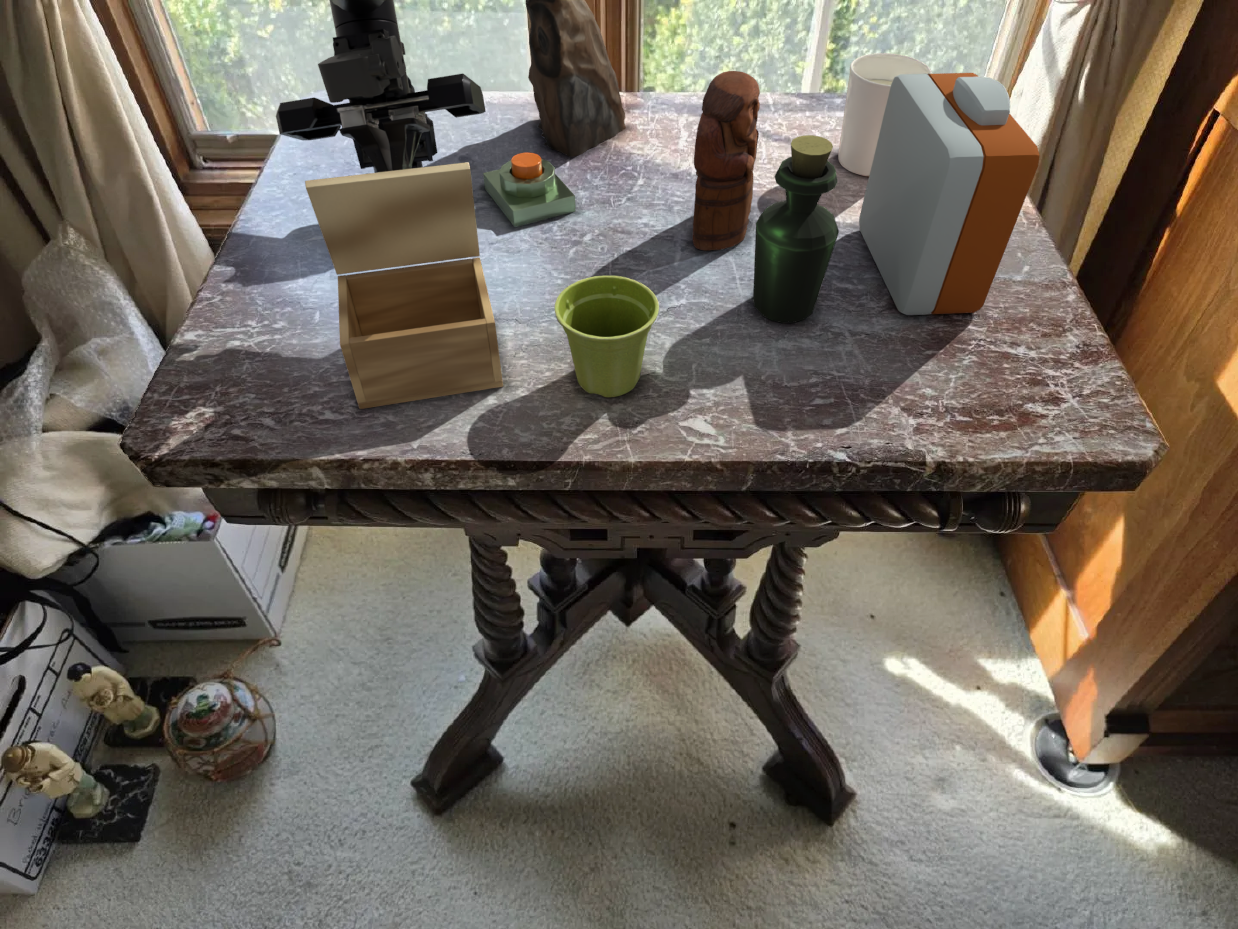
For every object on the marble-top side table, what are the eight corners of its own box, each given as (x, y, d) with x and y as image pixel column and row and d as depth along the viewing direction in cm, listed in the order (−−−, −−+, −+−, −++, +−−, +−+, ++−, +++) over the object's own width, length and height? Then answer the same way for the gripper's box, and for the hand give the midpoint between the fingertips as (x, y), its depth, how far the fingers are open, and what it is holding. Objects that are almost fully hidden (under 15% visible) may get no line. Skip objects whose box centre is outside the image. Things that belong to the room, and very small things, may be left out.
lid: (470, 168, 72) (468, 161, 72) (305, 187, 70) (304, 180, 70) (479, 256, 83) (478, 249, 83) (336, 274, 80) (335, 268, 81)
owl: (570, 163, 111) (564, -1, 97) (501, 135, 117) (485, -25, 102) (630, 128, 118) (632, -30, 103) (562, 103, 123) (554, -52, 109)
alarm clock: (981, 318, 89) (1056, 129, 74) (899, 321, 89) (958, 132, 74) (926, 223, 102) (981, 45, 87) (854, 225, 101) (897, 47, 86)
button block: (484, 189, 107) (481, 159, 104) (543, 174, 109) (541, 145, 106) (514, 227, 101) (511, 197, 98) (575, 211, 103) (574, 181, 100)
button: (507, 169, 103) (506, 156, 102) (535, 163, 104) (534, 149, 103) (519, 183, 101) (517, 169, 100) (546, 176, 102) (546, 162, 101)
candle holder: (917, 156, 113) (943, 63, 104) (891, 187, 107) (916, 93, 99) (848, 137, 117) (867, 46, 108) (820, 167, 111) (837, 73, 102)
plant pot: (585, 423, 78) (582, 350, 72) (543, 364, 84) (538, 291, 78) (673, 391, 81) (678, 319, 75) (627, 336, 87) (628, 264, 81)
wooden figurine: (738, 259, 97) (757, 102, 83) (683, 250, 98) (694, 94, 85) (756, 206, 104) (776, 55, 91) (705, 199, 105) (718, 48, 92)
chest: (503, 386, 82) (495, 322, 76) (359, 409, 80) (339, 344, 74) (488, 320, 89) (479, 256, 83) (355, 339, 87) (337, 275, 81)
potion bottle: (805, 278, 94) (836, 120, 81) (833, 323, 89) (871, 161, 75) (735, 288, 93) (755, 128, 80) (759, 333, 87) (785, 171, 74)
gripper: (227, 23, 72) (270, 213, 76) (440, -14, 70) (473, 183, 74) (286, 51, 83) (321, 216, 86) (472, 20, 81) (499, 190, 85)
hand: (399, 202), depth 83 cm, fingers closed
